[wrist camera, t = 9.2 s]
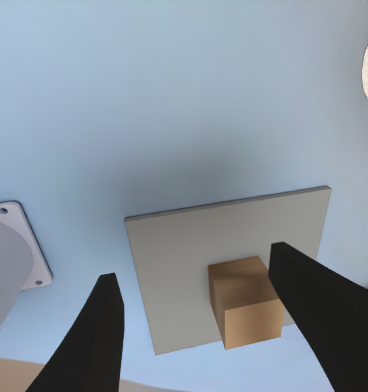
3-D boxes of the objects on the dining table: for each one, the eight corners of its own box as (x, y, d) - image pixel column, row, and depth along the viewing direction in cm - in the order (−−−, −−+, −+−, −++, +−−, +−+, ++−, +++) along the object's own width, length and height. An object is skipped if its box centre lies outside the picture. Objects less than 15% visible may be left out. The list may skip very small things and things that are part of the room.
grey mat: (155, 350, 28) (155, 355, 28) (125, 218, 20) (124, 222, 19) (299, 317, 30) (302, 321, 30) (327, 185, 22) (331, 188, 22)
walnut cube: (209, 301, 25) (225, 350, 21) (207, 265, 23) (224, 310, 19) (255, 291, 26) (280, 336, 21) (258, 255, 24) (286, 297, 19)
